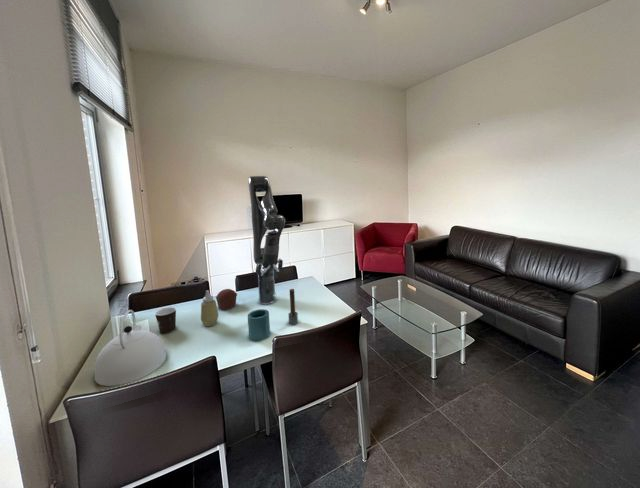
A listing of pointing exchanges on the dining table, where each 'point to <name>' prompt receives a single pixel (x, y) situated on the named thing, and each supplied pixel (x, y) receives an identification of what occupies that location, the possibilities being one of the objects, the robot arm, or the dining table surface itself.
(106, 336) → the dining table surface
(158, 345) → the kettle
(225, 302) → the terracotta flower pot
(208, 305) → the squeeze bottle
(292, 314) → the dowel
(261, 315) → the jar
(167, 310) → the coffee mug
